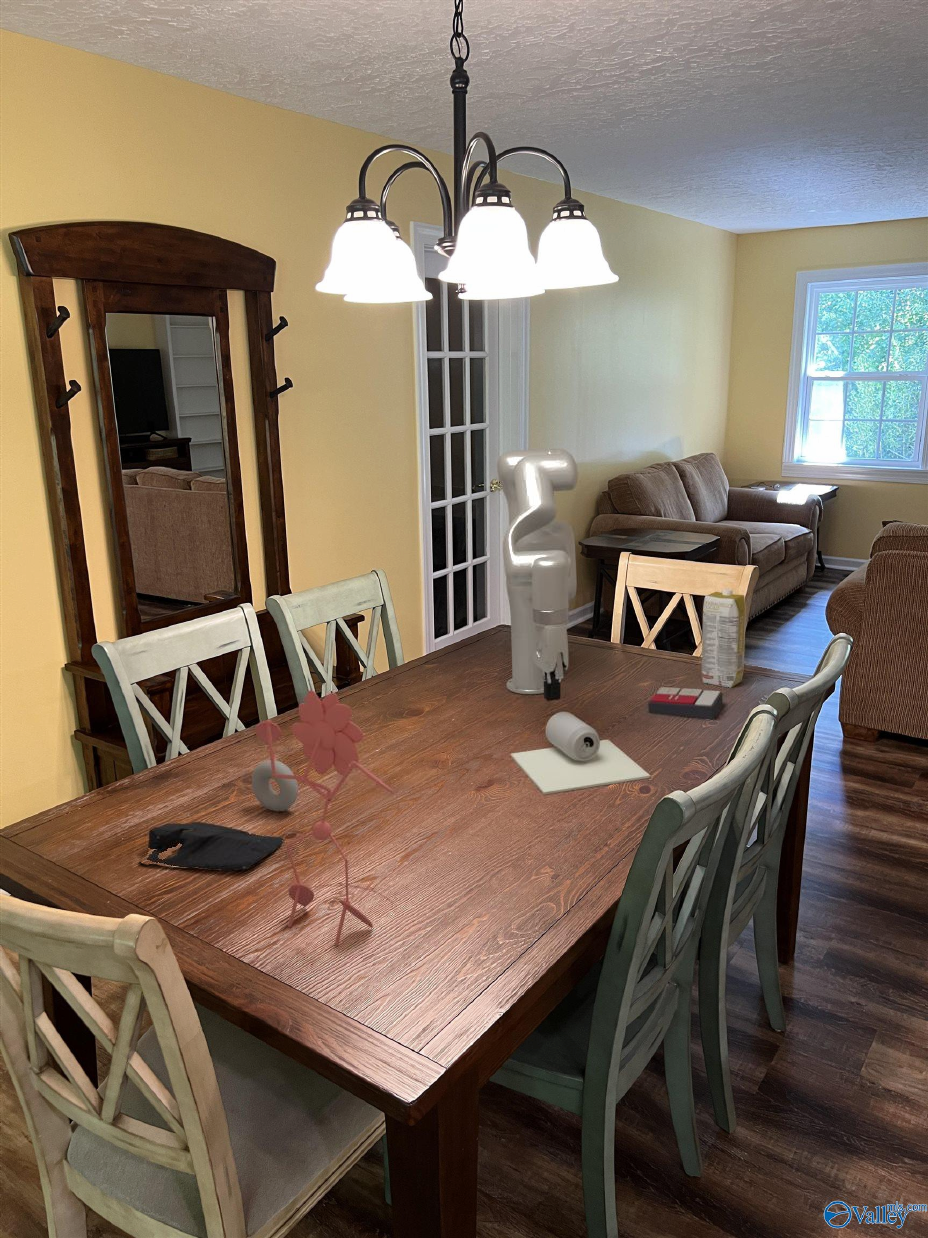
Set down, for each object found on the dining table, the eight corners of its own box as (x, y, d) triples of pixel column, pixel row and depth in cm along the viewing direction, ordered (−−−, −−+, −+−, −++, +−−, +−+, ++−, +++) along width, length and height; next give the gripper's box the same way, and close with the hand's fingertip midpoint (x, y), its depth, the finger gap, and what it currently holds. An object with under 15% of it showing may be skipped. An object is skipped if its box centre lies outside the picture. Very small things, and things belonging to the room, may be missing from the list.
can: (581, 723, 196) (610, 742, 185) (558, 750, 196) (586, 771, 185) (559, 703, 193) (587, 722, 182) (536, 730, 192) (563, 751, 182)
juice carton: (746, 681, 232) (749, 589, 226) (732, 690, 226) (735, 595, 220) (711, 675, 238) (714, 585, 232) (697, 683, 232) (700, 591, 226)
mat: (510, 756, 191) (510, 753, 191) (607, 741, 197) (607, 739, 197) (543, 794, 173) (543, 792, 172) (650, 777, 178) (650, 775, 178)
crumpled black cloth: (242, 886, 146) (239, 859, 145) (131, 867, 153) (127, 841, 152) (292, 841, 160) (289, 816, 158) (187, 826, 167) (184, 802, 166)
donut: (304, 811, 170) (299, 761, 167) (292, 819, 167) (288, 768, 165) (262, 802, 174) (257, 753, 172) (250, 809, 172) (244, 760, 169)
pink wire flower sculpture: (378, 968, 123) (364, 721, 115) (245, 914, 137) (224, 691, 129) (444, 915, 135) (435, 689, 127) (315, 871, 149) (300, 665, 141)
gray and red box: (659, 685, 222) (722, 688, 215) (660, 702, 222) (723, 706, 216) (647, 699, 212) (713, 703, 205) (648, 717, 213) (713, 721, 206)
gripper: (522, 610, 197) (524, 691, 201) (546, 625, 183) (547, 712, 187) (554, 606, 199) (556, 687, 203) (581, 622, 185) (581, 707, 189)
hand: (552, 698), depth 195 cm, fingers closed
